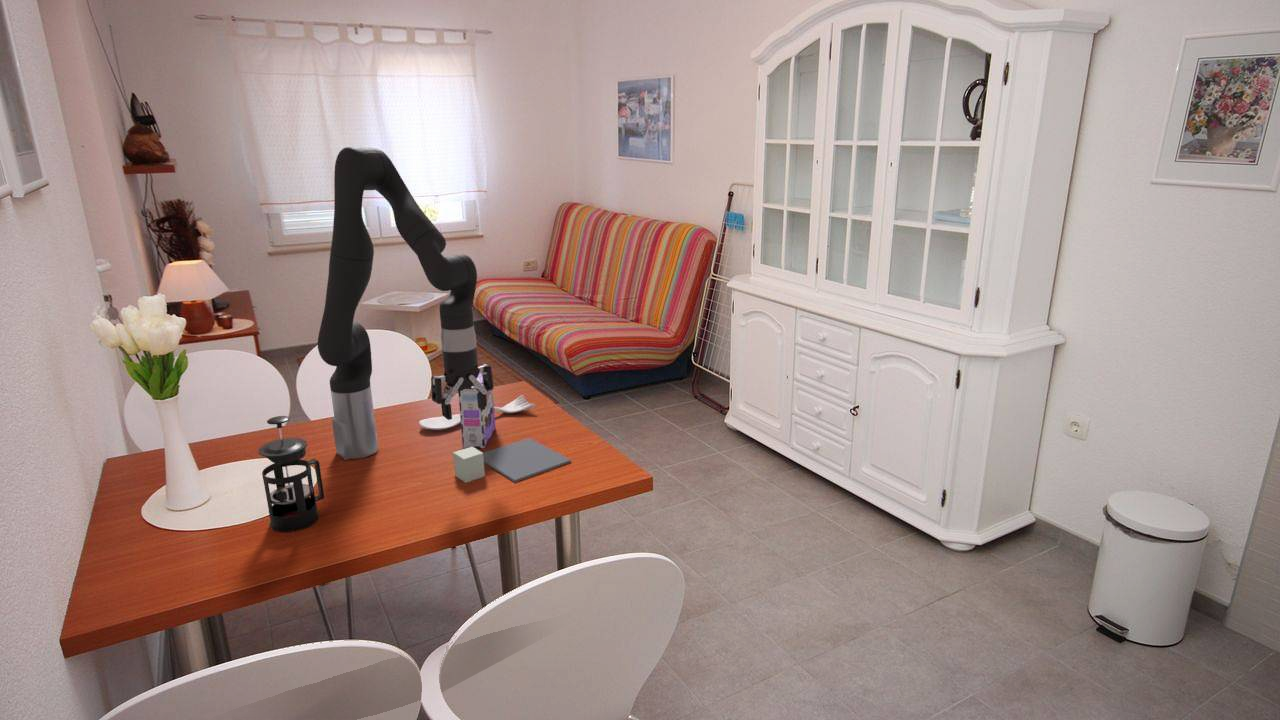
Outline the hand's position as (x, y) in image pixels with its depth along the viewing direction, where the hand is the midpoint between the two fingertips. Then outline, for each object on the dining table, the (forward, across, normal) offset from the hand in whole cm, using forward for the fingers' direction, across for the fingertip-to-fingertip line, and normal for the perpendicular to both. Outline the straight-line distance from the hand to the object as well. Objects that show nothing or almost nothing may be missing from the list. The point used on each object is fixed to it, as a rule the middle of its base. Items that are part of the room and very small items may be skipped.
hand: (465, 413), depth 169 cm
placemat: (+16, -14, +1) cm, 21 cm away
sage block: (+16, 0, 0) cm, 16 cm away
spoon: (+16, -19, -30) cm, 39 cm away
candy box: (+16, -13, -18) cm, 27 cm away
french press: (+16, +37, -6) cm, 41 cm away
